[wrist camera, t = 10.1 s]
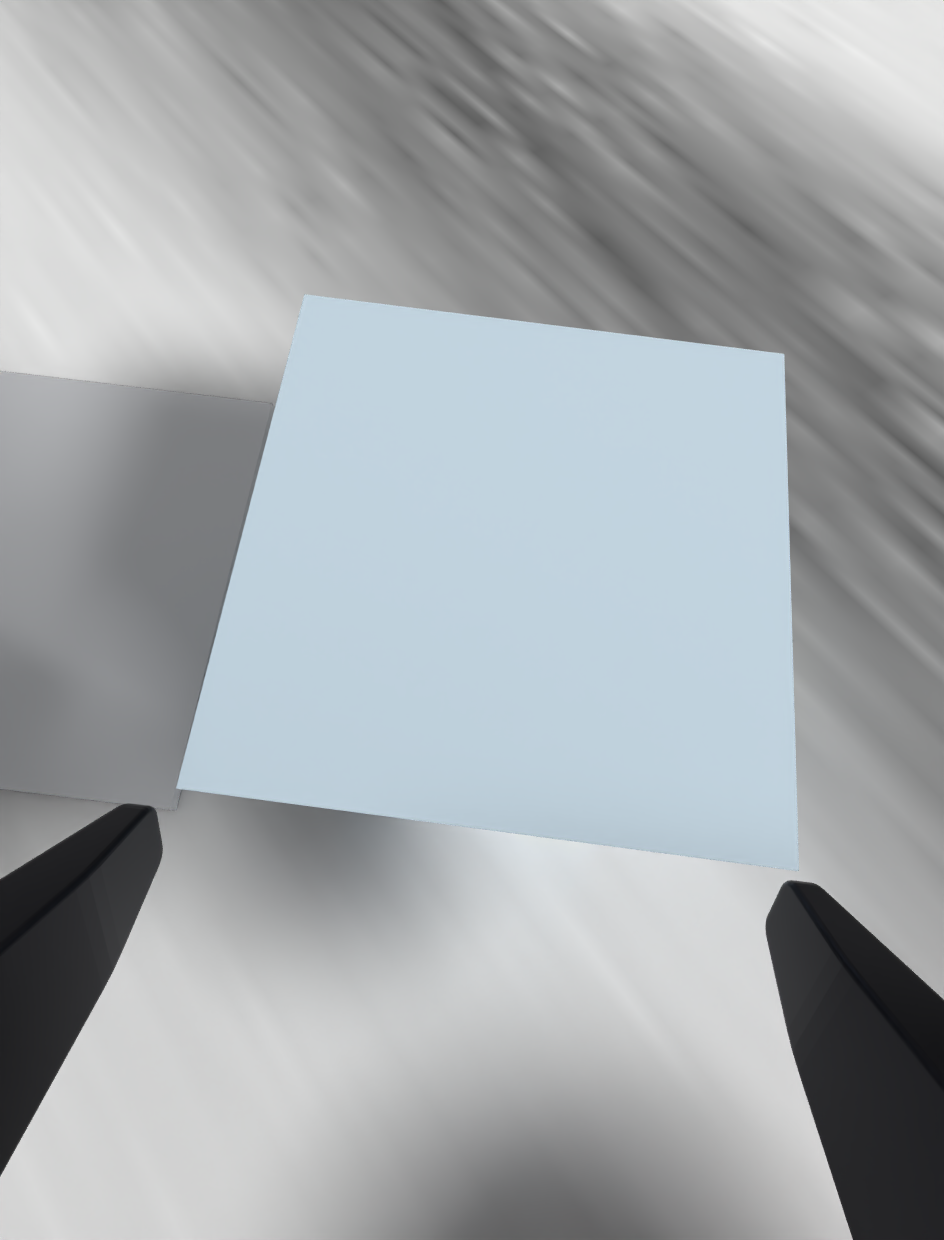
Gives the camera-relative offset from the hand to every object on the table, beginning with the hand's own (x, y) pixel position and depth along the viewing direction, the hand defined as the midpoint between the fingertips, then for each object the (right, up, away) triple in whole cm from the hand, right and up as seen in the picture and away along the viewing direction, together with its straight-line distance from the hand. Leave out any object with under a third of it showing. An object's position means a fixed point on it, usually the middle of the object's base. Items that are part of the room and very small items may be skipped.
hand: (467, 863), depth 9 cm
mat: (-13, +5, +9) cm, 16 cm away
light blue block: (0, +2, +8) cm, 8 cm away
